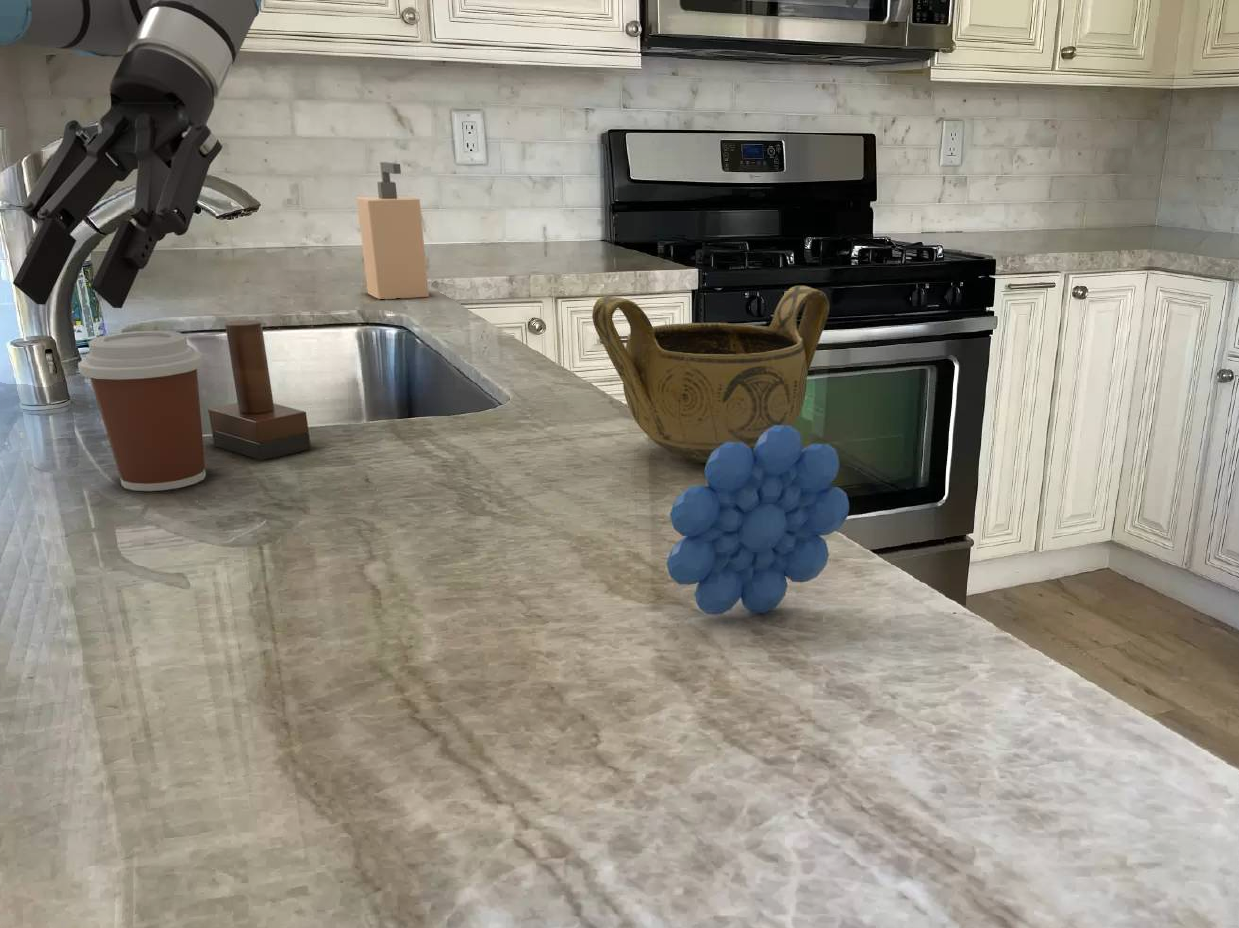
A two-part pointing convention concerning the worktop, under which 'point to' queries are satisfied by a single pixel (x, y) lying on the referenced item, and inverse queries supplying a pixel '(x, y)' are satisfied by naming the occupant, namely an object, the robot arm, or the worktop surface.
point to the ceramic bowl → (714, 372)
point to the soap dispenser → (392, 241)
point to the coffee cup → (149, 406)
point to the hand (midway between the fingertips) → (67, 295)
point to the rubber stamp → (255, 403)
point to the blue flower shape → (757, 521)
